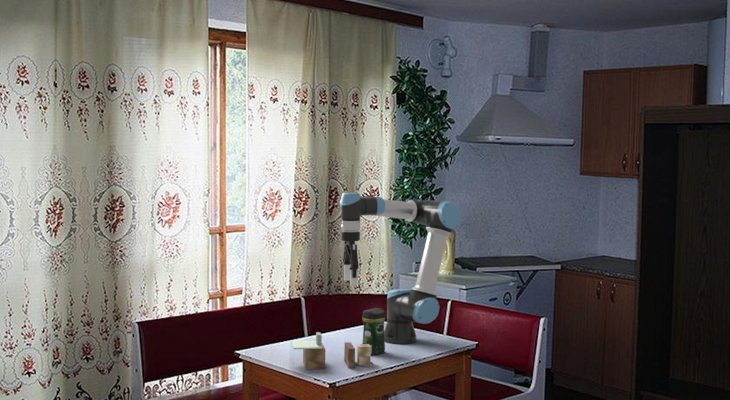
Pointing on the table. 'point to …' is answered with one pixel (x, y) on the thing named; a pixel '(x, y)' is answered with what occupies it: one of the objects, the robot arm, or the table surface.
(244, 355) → the table surface
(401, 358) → the table surface
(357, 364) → the grey round disc
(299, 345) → the cover
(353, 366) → the brown and beige stand
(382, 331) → the coffee jar
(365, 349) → the block
